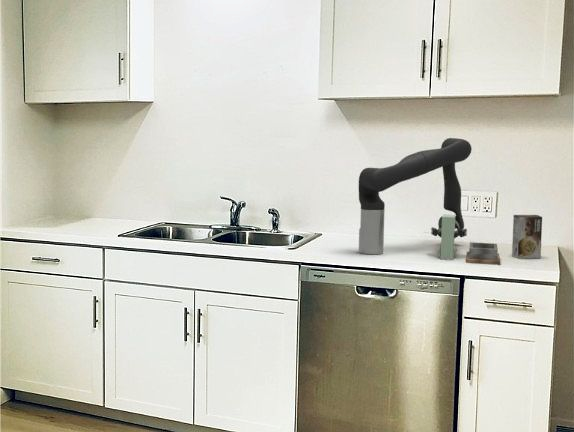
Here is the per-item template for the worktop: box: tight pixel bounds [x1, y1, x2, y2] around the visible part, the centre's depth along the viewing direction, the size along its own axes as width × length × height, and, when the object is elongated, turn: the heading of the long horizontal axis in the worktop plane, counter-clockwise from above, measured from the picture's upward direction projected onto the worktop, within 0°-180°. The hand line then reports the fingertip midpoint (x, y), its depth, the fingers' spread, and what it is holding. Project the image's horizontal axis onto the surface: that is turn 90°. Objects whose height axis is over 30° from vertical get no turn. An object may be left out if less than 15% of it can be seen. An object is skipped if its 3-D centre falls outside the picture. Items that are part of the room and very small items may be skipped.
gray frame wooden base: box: [465, 241, 501, 266], centre depth 253 cm, size 12×18×5 cm, turn 164°
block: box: [440, 213, 456, 261], centre depth 256 cm, size 4×9×16 cm, turn 165°
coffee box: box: [511, 214, 543, 259], centre depth 259 cm, size 9×6×16 cm
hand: (447, 234), depth 254 cm, fingers closed on block, 4 cm apart
